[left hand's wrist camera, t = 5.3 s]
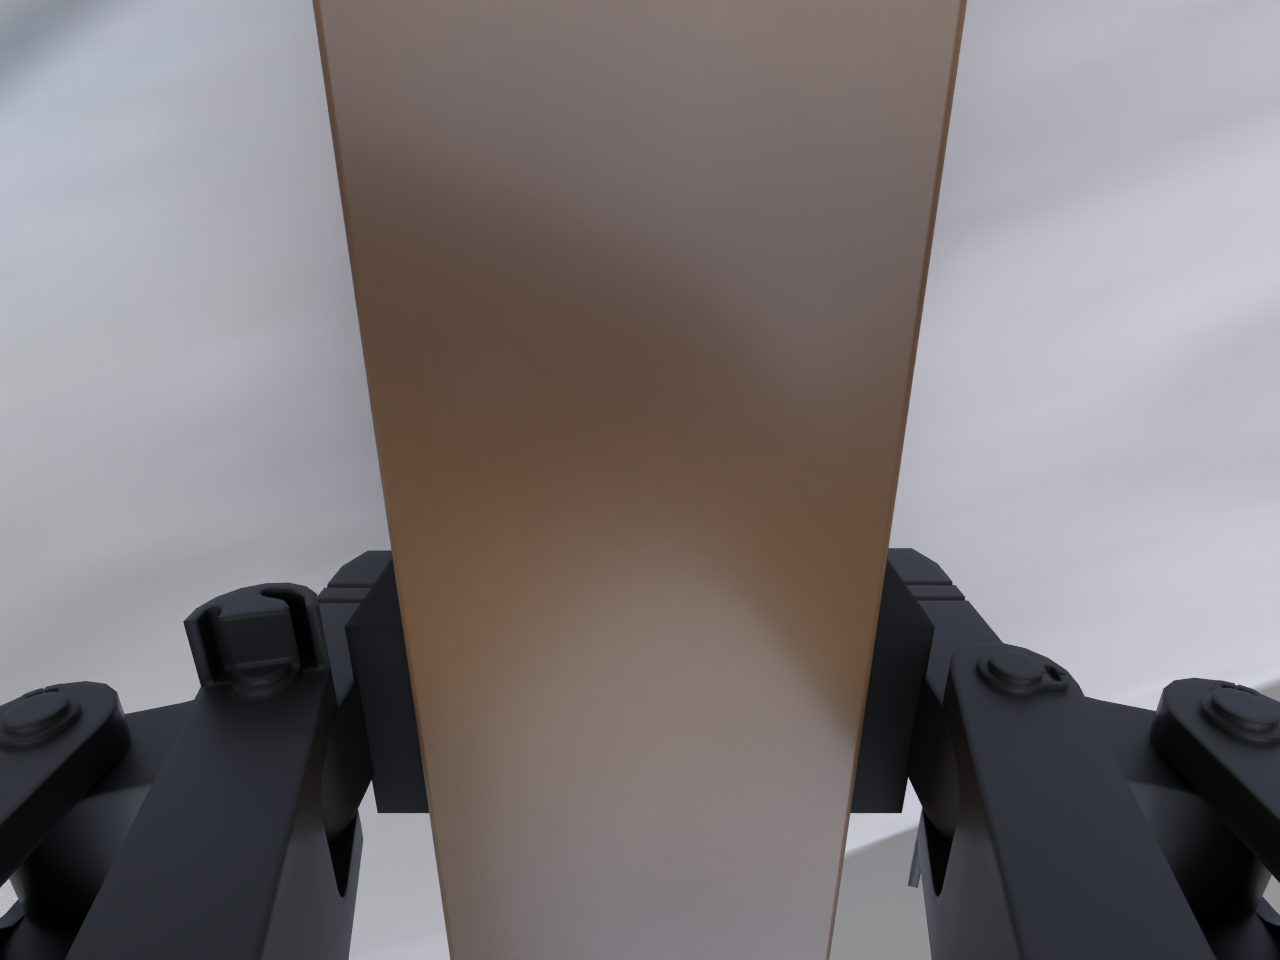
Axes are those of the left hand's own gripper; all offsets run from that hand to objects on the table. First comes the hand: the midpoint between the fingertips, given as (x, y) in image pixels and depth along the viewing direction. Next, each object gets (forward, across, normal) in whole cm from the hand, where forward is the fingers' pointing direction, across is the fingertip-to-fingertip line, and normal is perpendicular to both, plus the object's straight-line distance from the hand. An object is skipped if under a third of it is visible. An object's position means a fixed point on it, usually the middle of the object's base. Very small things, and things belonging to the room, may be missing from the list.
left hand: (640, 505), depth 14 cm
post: (+1, 0, -24) cm, 24 cm away
